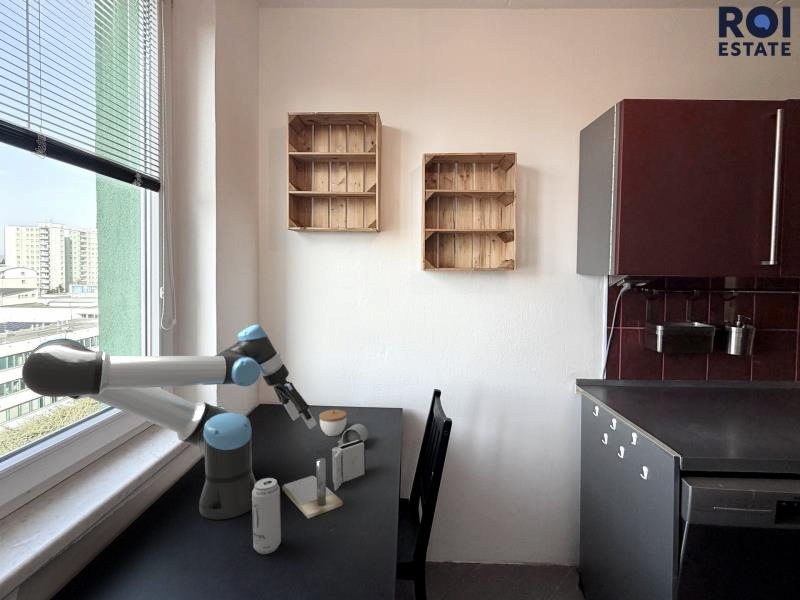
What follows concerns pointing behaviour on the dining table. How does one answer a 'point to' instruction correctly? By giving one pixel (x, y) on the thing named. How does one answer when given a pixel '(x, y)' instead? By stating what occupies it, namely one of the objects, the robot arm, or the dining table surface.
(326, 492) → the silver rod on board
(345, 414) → the lidded jar
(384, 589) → the dining table surface
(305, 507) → the mounting board
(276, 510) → the energy drink can
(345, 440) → the ceramic mug
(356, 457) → the hinge
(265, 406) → the dining table surface
